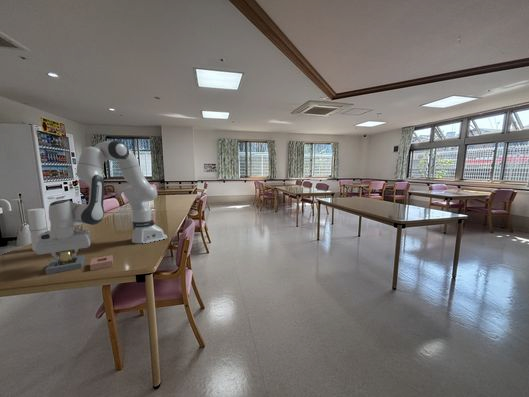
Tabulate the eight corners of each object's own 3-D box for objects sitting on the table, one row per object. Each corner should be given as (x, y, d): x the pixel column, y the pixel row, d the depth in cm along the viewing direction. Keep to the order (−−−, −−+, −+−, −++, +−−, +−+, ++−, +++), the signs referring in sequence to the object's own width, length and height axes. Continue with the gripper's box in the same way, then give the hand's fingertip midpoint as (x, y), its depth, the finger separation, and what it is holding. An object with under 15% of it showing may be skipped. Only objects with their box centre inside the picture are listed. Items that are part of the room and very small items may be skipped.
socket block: (84, 259, 121) (84, 255, 121) (81, 268, 110) (81, 263, 110) (52, 264, 114) (52, 260, 113) (46, 274, 103) (45, 269, 103)
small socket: (113, 260, 120) (112, 255, 119) (112, 266, 112) (112, 260, 112) (92, 264, 115) (91, 258, 114) (90, 270, 107) (90, 264, 107)
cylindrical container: (30, 251, 132) (25, 210, 129) (35, 247, 138) (30, 208, 135) (46, 249, 135) (41, 209, 132) (50, 246, 141) (46, 208, 138)
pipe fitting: (75, 262, 116) (73, 247, 115) (73, 266, 111) (71, 251, 110) (60, 265, 113) (58, 250, 112) (58, 269, 108) (56, 253, 107)
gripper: (90, 228, 118) (92, 252, 120) (36, 234, 107) (40, 261, 109) (88, 230, 113) (91, 256, 115) (32, 237, 102) (36, 265, 103)
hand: (66, 258), depth 111 cm, fingers closed on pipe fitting, 5 cm apart
